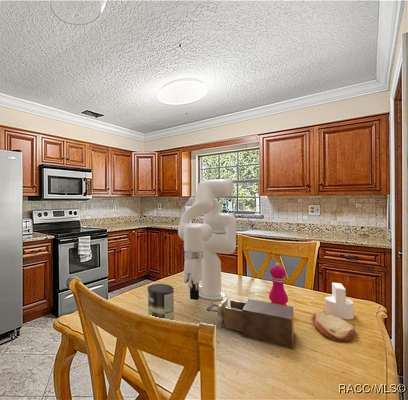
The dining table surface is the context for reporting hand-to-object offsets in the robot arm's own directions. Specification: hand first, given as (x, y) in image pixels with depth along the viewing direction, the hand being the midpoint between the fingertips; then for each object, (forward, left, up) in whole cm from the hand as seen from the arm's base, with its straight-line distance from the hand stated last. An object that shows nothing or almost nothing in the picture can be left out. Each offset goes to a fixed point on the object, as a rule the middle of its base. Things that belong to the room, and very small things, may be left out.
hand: (194, 299), depth 113 cm
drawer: (+15, 0, -7) cm, 16 cm away
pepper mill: (+27, +30, -8) cm, 42 cm away
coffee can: (-10, -12, -8) cm, 17 cm away
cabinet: (+26, 0, -8) cm, 28 cm away
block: (+14, 0, -6) cm, 16 cm away
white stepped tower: (+48, +35, -8) cm, 60 cm away
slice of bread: (+44, +18, -8) cm, 49 cm away
